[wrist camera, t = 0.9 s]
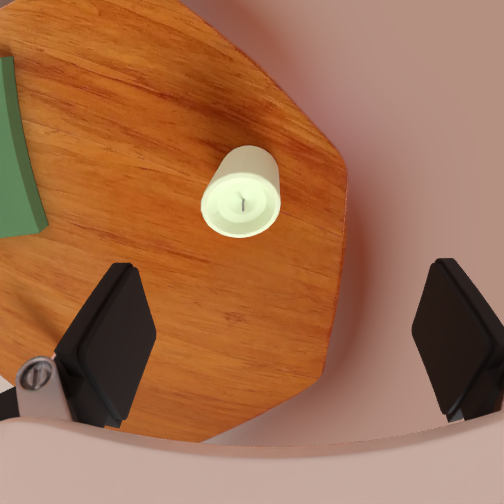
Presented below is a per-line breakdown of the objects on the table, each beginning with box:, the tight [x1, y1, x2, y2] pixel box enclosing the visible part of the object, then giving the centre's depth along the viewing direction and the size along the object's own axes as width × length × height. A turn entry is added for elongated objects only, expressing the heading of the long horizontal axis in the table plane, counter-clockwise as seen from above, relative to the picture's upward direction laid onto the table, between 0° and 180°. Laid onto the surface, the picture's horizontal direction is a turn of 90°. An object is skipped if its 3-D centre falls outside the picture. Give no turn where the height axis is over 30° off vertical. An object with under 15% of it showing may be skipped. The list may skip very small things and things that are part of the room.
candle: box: [201, 145, 281, 238], centre depth 23 cm, size 5×5×8 cm
